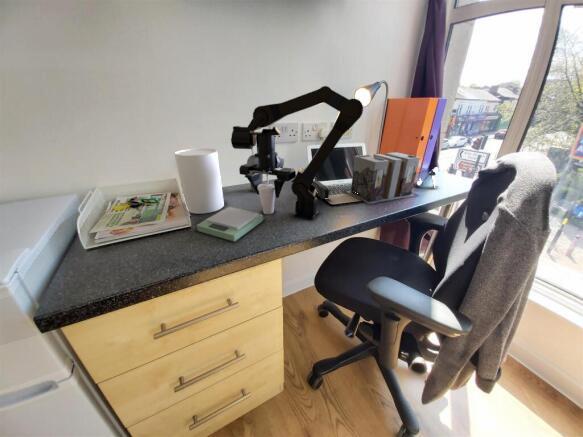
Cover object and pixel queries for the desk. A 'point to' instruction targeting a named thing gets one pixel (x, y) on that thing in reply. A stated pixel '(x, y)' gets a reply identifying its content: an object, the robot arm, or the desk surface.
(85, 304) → the desk surface
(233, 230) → the scale
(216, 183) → the canister
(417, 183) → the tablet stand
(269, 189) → the smoothie
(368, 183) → the bookend
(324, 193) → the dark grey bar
